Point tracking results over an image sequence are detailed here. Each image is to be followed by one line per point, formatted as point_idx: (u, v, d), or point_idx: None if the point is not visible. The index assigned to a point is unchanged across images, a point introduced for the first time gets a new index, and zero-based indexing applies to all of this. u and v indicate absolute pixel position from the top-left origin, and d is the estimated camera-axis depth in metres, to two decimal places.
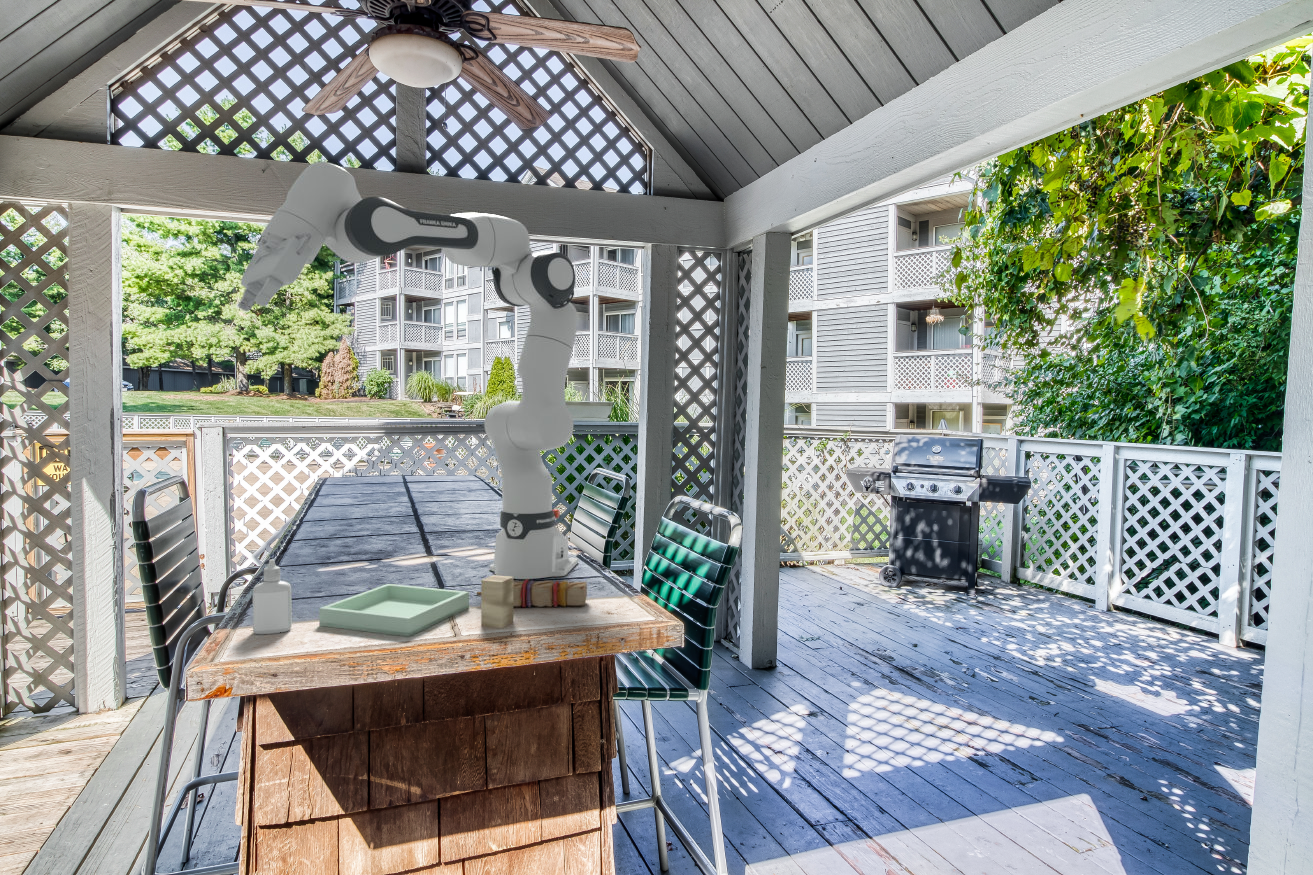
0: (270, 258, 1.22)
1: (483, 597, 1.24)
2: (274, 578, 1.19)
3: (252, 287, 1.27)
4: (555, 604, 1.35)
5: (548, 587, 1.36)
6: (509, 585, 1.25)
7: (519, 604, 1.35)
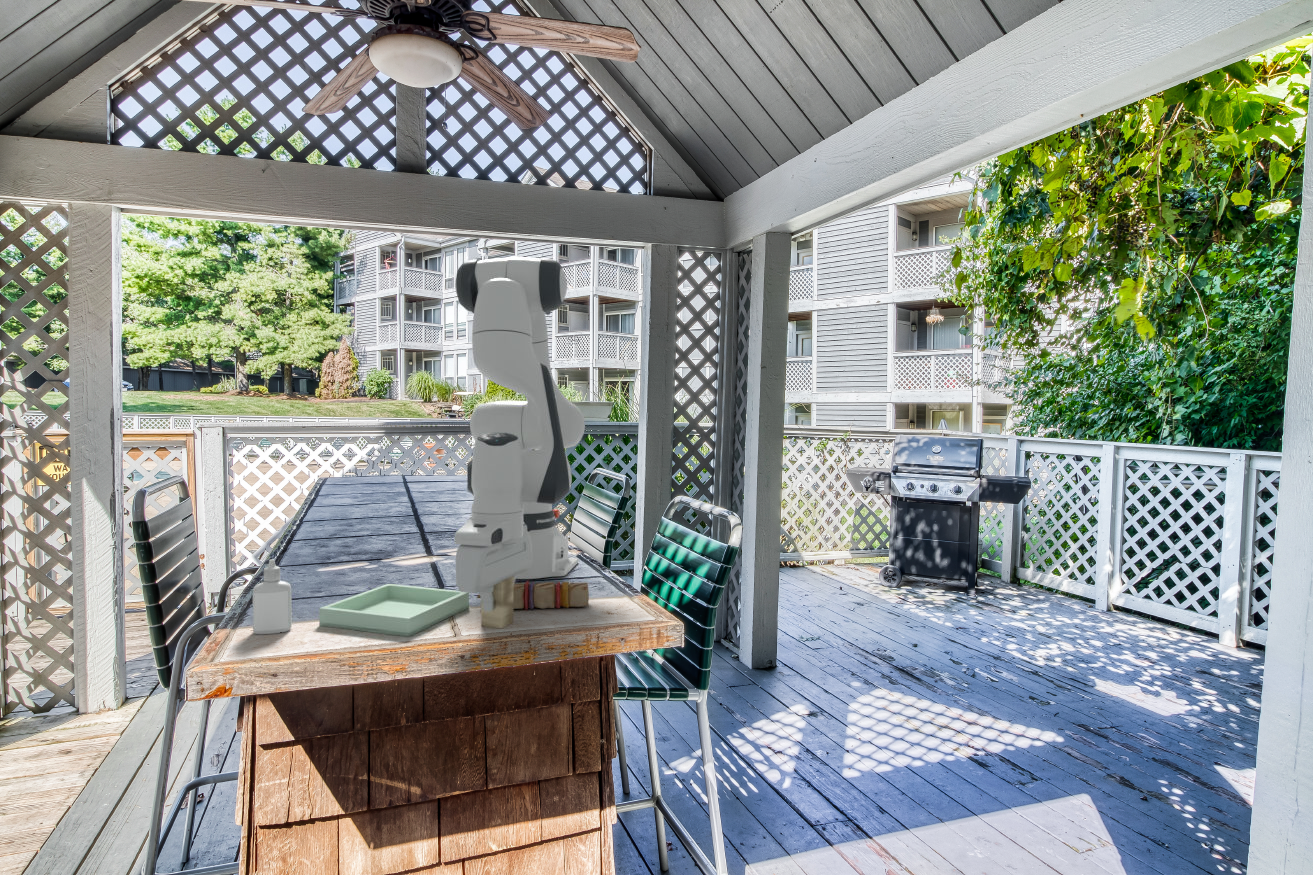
0: (513, 556, 1.27)
1: None
2: (274, 578, 1.19)
3: None
4: (558, 605, 1.35)
5: (551, 588, 1.34)
6: (509, 584, 1.25)
7: (521, 606, 1.34)
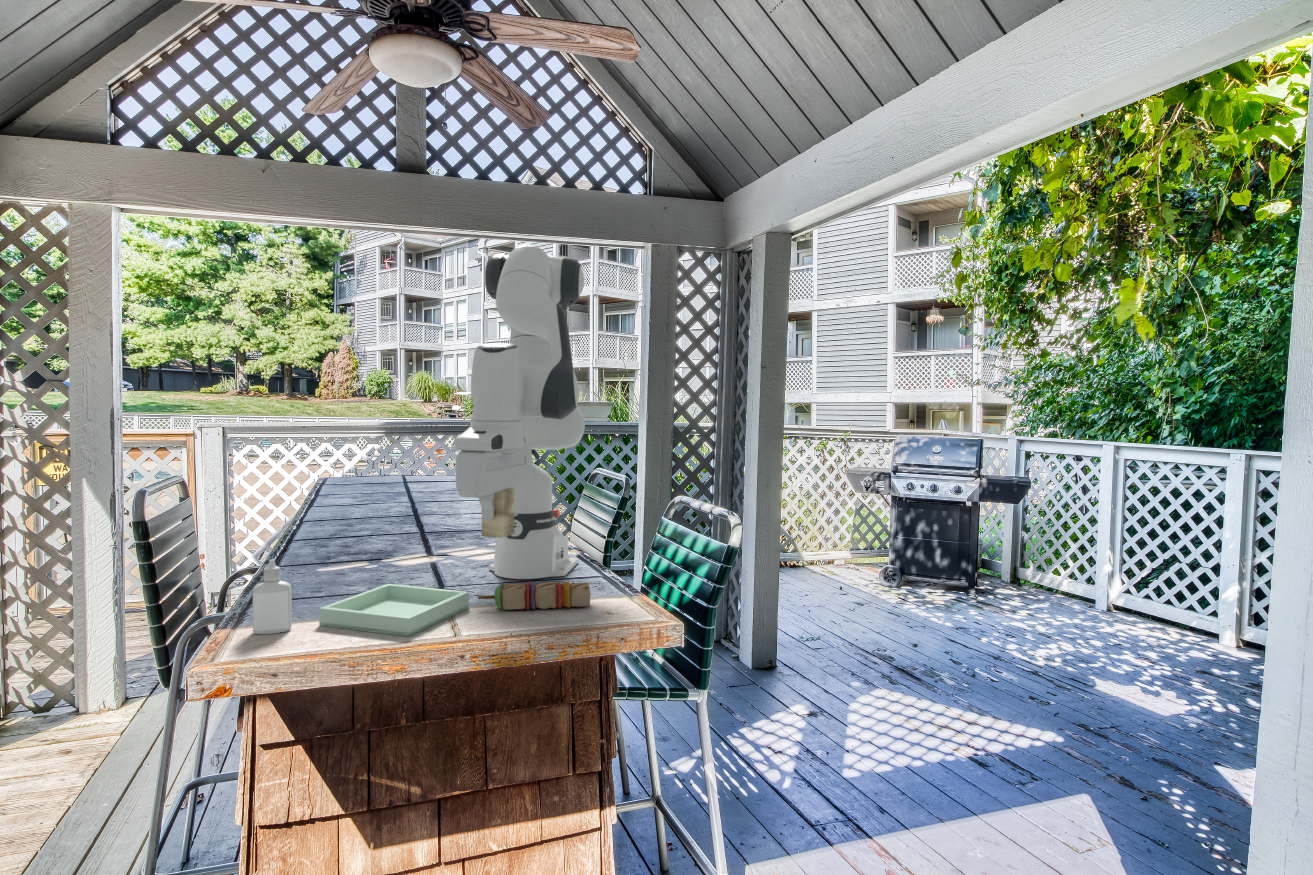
0: (513, 467, 1.26)
1: None
2: (274, 578, 1.19)
3: None
4: (560, 606, 1.34)
5: (552, 589, 1.34)
6: (510, 495, 1.25)
7: (523, 607, 1.33)
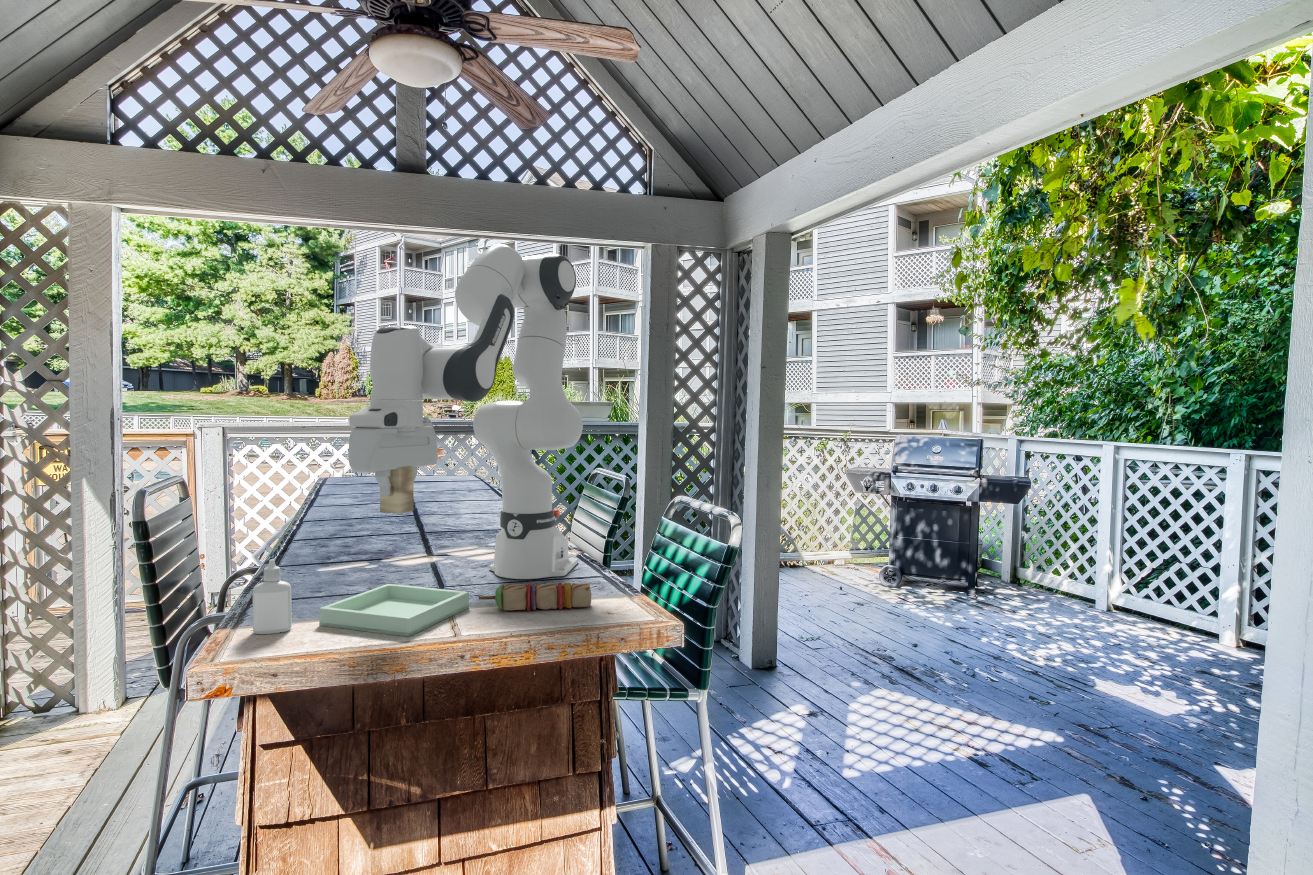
0: (413, 447, 1.30)
1: None
2: (274, 578, 1.19)
3: None
4: (561, 606, 1.34)
5: (553, 589, 1.34)
6: (408, 473, 1.28)
7: (524, 607, 1.33)
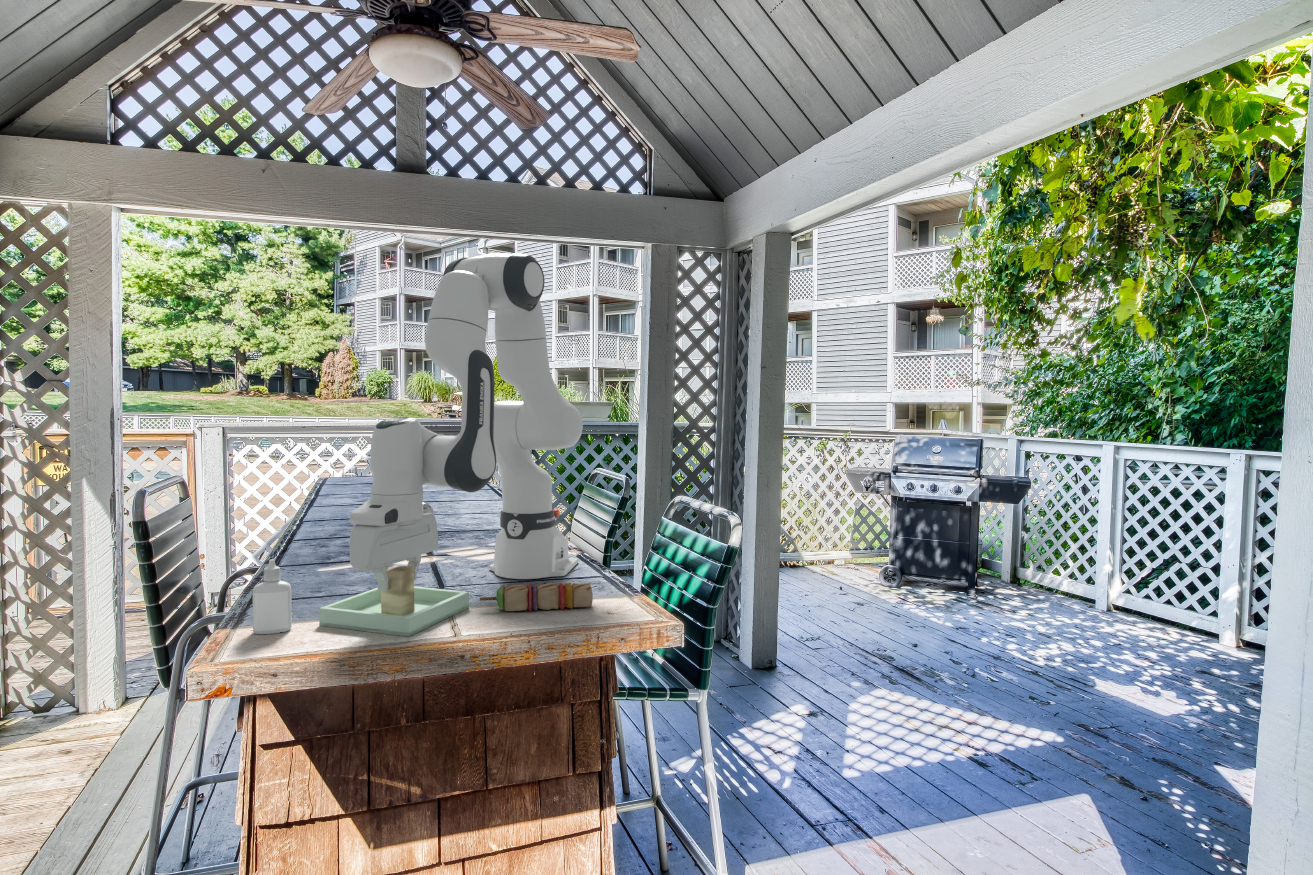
0: (414, 537, 1.31)
1: None
2: (274, 578, 1.19)
3: None
4: (562, 606, 1.34)
5: (555, 589, 1.34)
6: (409, 574, 1.29)
7: (525, 608, 1.33)
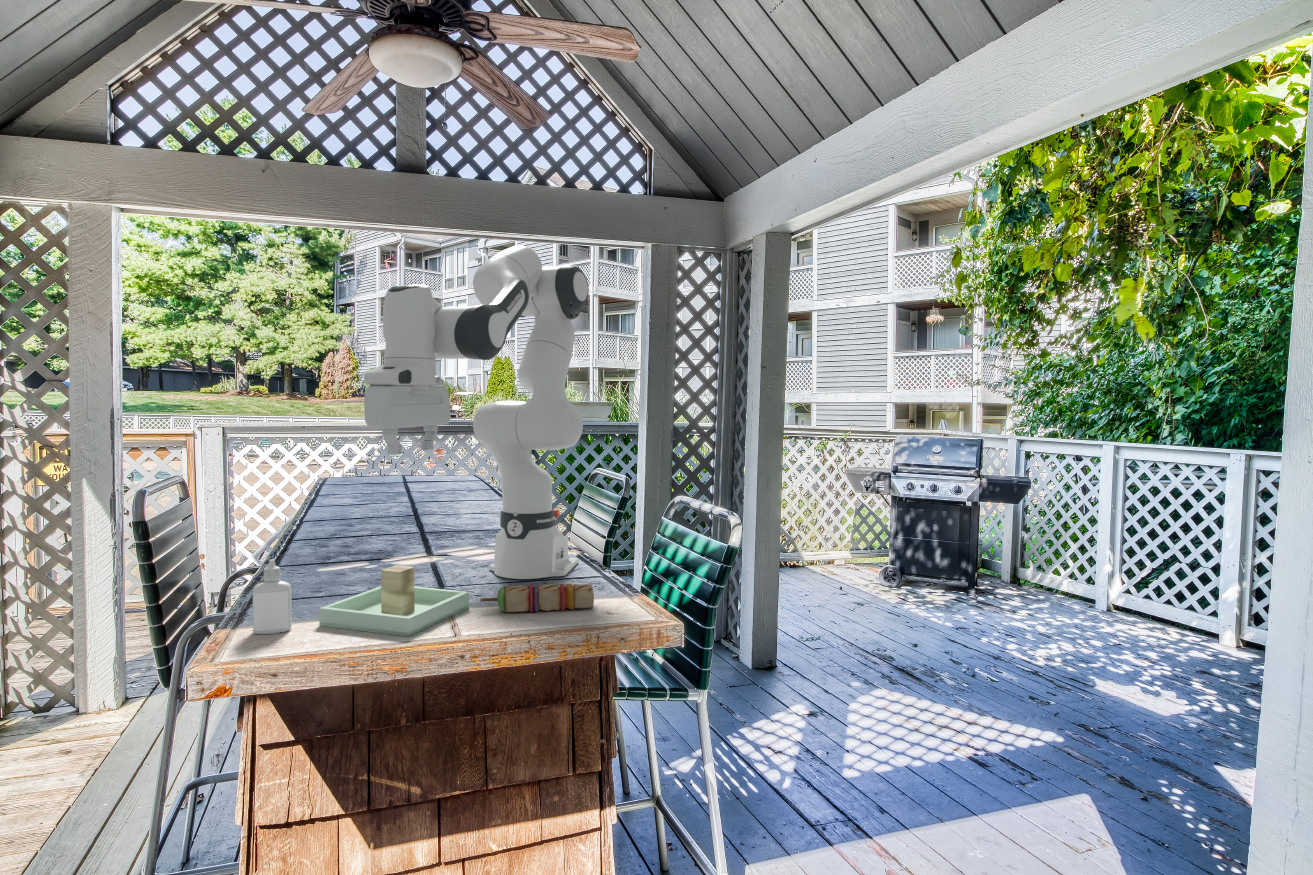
0: (427, 405, 1.31)
1: (383, 586, 1.28)
2: (274, 578, 1.19)
3: None
4: (563, 607, 1.33)
5: (556, 590, 1.33)
6: (409, 575, 1.29)
7: (526, 609, 1.32)
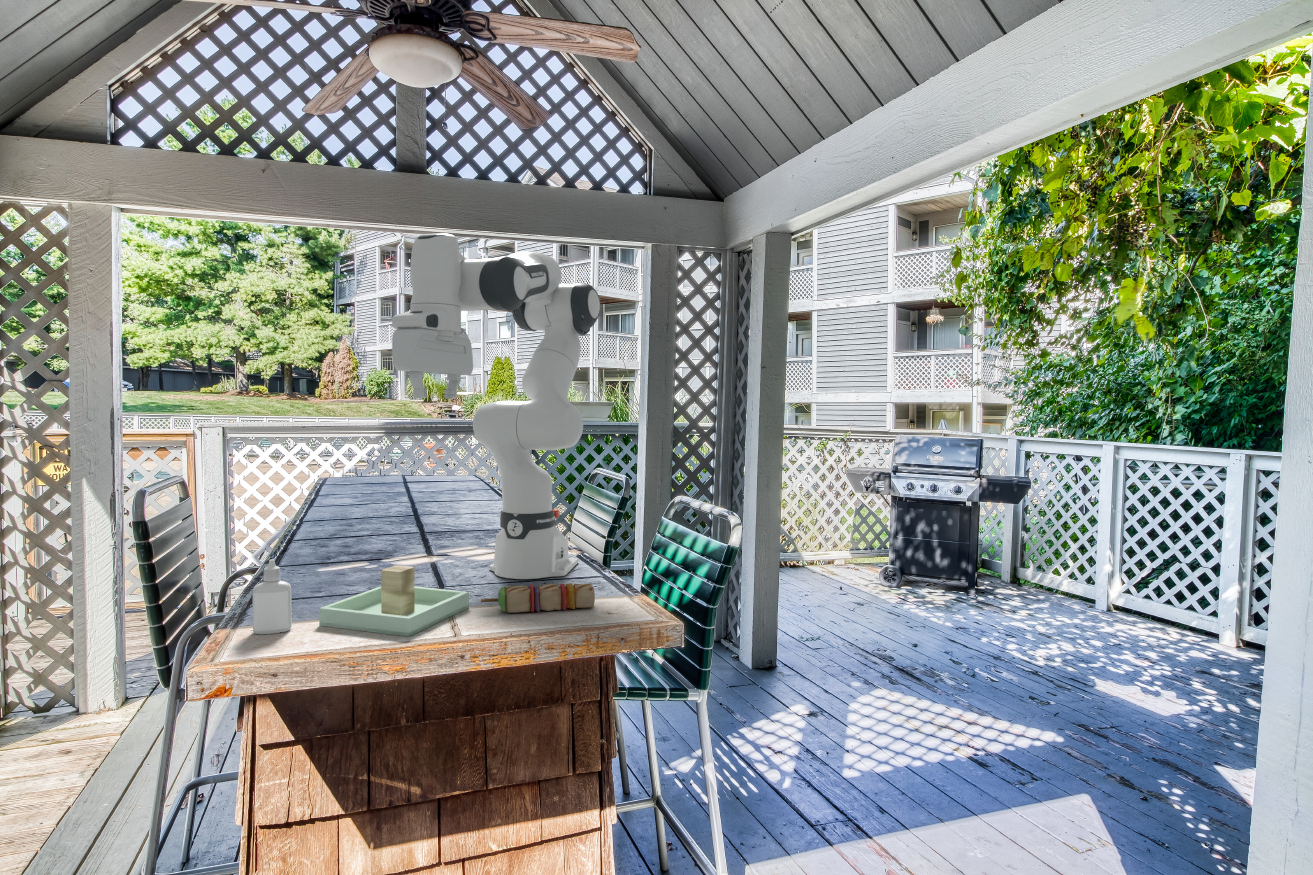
0: (451, 353, 1.34)
1: (383, 586, 1.28)
2: (274, 578, 1.19)
3: None
4: (565, 607, 1.33)
5: (557, 590, 1.33)
6: (409, 575, 1.29)
7: (528, 609, 1.32)
